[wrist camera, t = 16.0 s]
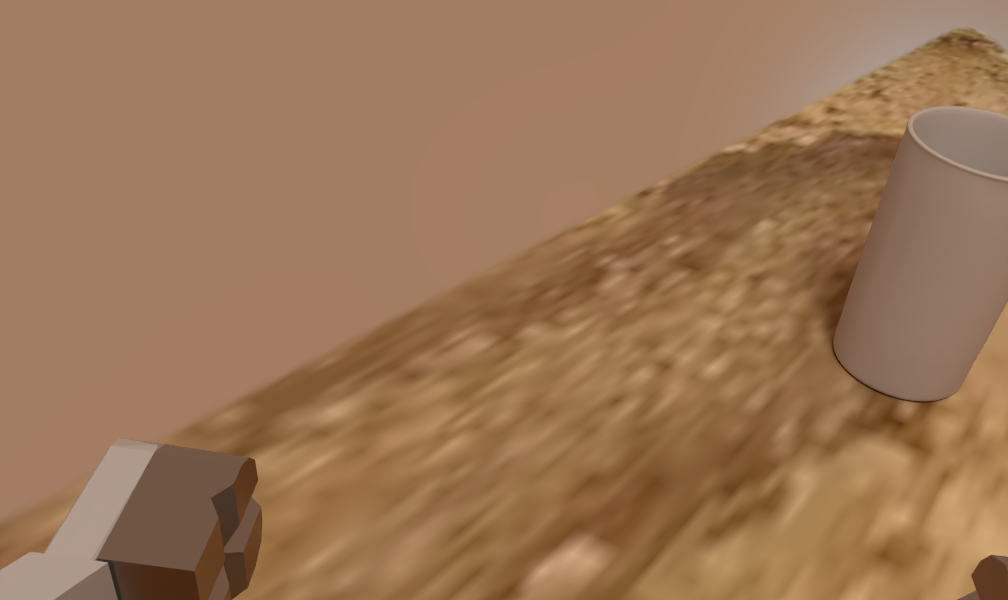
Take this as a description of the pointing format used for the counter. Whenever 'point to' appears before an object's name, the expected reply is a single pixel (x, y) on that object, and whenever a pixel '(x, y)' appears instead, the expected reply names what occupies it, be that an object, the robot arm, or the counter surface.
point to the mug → (932, 258)
